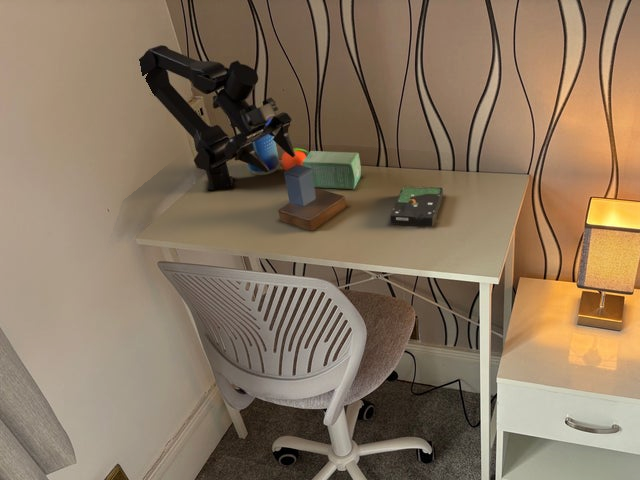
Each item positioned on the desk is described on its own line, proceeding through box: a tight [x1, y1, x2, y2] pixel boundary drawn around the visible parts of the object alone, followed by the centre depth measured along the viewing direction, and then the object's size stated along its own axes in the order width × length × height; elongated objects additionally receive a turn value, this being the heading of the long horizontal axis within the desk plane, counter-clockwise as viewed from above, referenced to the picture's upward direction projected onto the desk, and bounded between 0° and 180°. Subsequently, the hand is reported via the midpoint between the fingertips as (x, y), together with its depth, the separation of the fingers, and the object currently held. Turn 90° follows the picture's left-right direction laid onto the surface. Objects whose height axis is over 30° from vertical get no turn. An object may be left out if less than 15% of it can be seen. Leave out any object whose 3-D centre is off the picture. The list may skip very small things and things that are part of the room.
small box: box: [283, 165, 316, 206], centre depth 149 cm, size 5×5×8 cm
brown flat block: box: [277, 187, 347, 232], centre depth 150 cm, size 10×13×3 cm
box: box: [303, 150, 362, 190], centre depth 162 cm, size 7×14×8 cm, turn 79°
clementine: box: [281, 147, 309, 171], centre depth 168 cm, size 8×7×7 cm
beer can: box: [247, 117, 280, 176], centre depth 168 cm, size 8×8×16 cm
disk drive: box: [389, 185, 444, 227], centre depth 149 cm, size 10×3×15 cm
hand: (281, 163), depth 148 cm, fingers open, 9 cm apart
